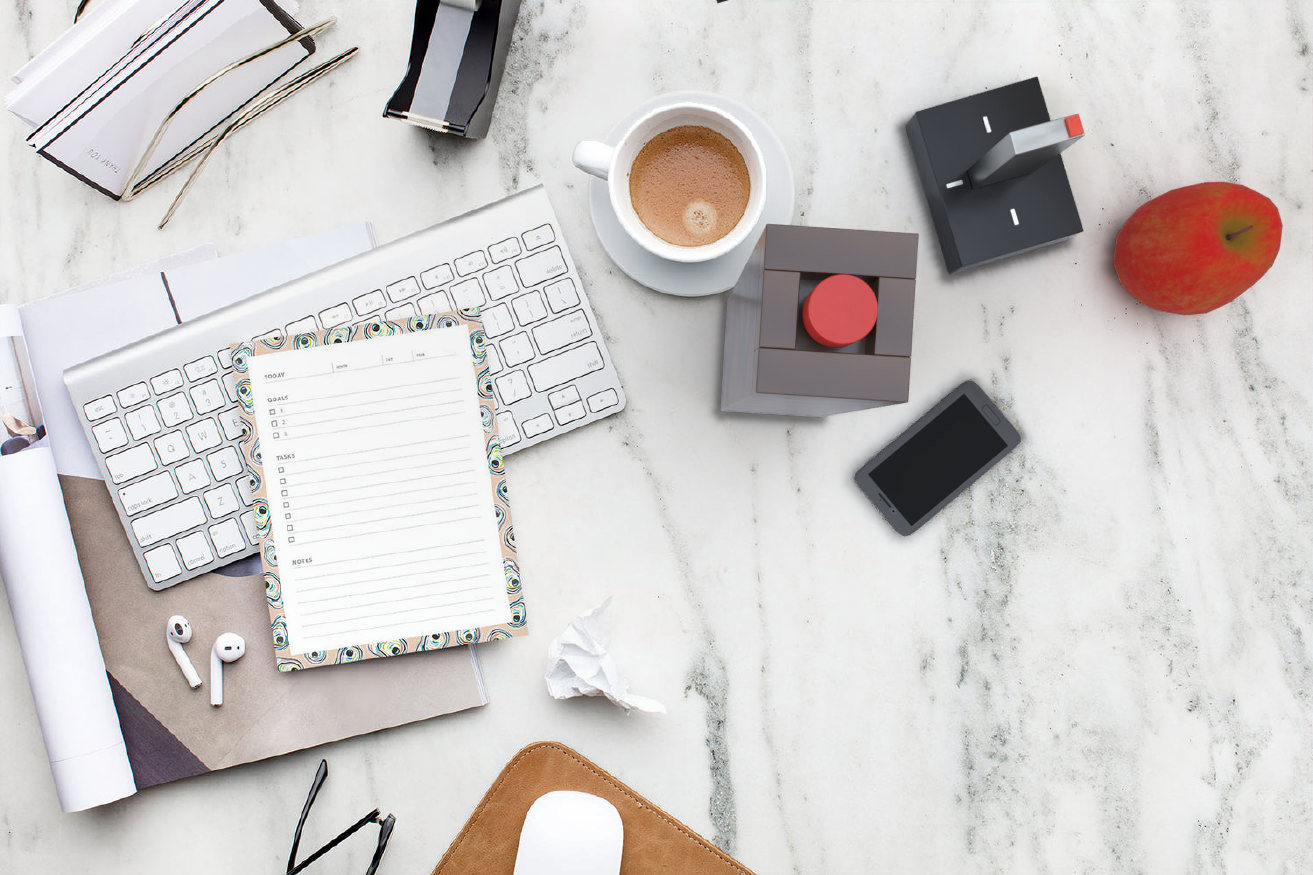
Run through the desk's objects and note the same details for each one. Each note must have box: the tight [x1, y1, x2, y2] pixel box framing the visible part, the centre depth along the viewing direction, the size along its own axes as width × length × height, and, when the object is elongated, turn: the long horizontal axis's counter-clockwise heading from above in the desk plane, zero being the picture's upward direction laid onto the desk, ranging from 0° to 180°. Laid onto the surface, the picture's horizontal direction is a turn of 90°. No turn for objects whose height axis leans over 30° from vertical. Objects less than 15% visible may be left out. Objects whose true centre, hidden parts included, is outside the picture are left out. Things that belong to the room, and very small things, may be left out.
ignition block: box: [720, 223, 919, 418], centre depth 58 cm, size 10×9×24 cm
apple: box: [1112, 181, 1284, 316], centre depth 64 cm, size 11×11×11 cm
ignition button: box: [803, 274, 878, 348], centre depth 45 cm, size 4×4×2 cm
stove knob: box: [968, 113, 1086, 189], centre depth 63 cm, size 6×2×8 cm, turn 106°
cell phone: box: [854, 379, 1022, 537], centre depth 69 cm, size 7×14×1 cm, turn 130°
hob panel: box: [905, 76, 1084, 275], centre depth 68 cm, size 14×11×3 cm
